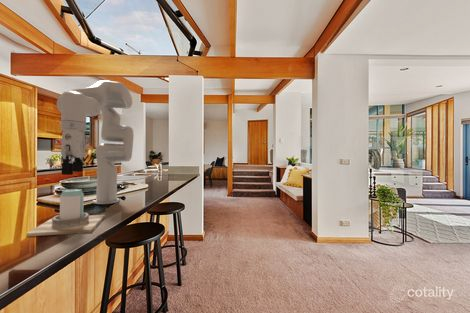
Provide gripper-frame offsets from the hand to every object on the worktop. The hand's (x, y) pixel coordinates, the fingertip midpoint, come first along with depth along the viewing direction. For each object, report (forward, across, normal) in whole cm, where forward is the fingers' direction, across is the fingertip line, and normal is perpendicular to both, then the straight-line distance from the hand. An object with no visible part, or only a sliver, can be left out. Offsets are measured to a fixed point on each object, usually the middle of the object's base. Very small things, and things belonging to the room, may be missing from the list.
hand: (72, 173), depth 82 cm
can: (+18, 0, 0) cm, 19 cm away
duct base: (+20, -1, 0) cm, 20 cm away
